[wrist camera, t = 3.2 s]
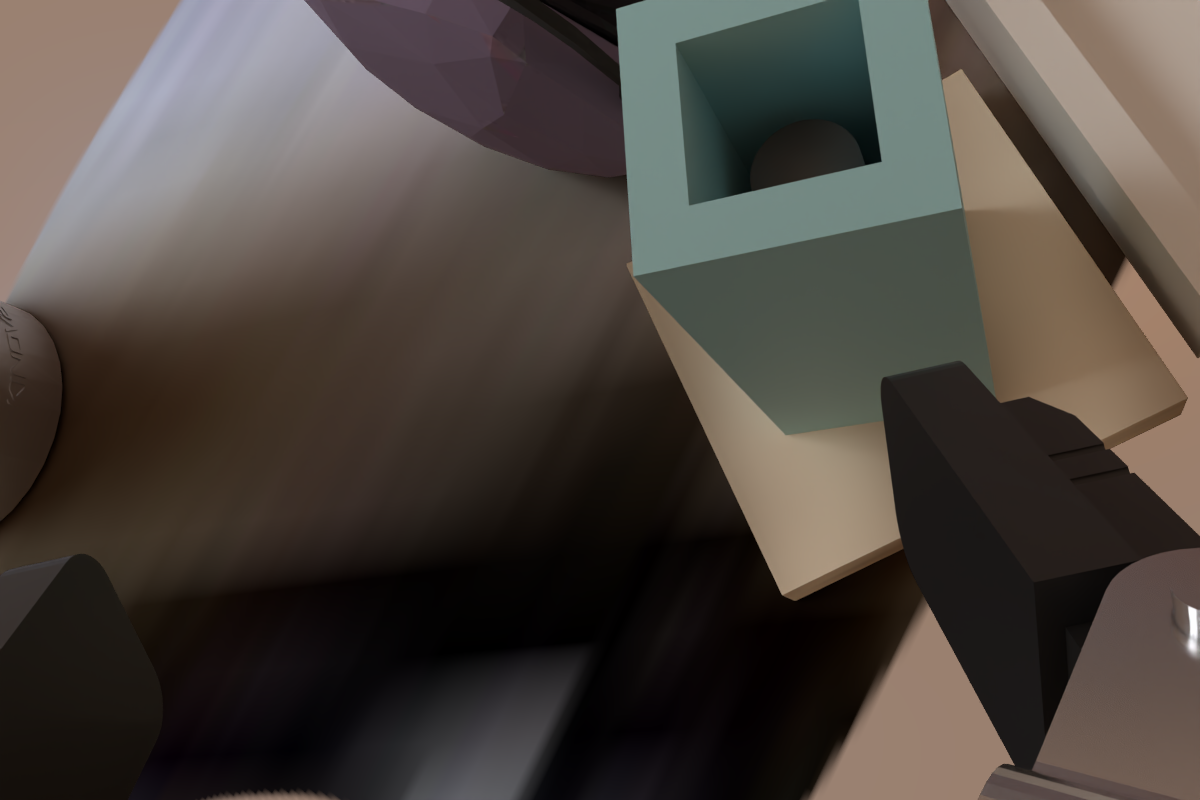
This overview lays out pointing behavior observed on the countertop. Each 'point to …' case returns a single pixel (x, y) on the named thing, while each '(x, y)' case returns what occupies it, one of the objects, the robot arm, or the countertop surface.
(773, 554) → the stand
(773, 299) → the sleeve
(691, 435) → the countertop surface
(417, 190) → the countertop surface
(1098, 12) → the tray
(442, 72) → the headphones
